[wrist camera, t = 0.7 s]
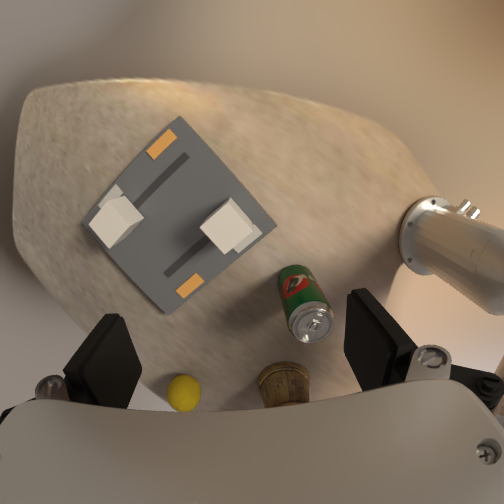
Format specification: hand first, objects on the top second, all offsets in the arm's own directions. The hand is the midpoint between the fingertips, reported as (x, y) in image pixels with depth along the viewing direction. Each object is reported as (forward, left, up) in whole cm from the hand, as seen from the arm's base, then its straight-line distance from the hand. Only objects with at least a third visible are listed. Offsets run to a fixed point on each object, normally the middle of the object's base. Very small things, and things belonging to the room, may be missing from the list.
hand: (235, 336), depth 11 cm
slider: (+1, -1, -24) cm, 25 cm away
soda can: (0, +12, -27) cm, 29 cm away
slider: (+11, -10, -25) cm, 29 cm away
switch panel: (+7, -6, -26) cm, 28 cm away
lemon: (+25, +15, -27) cm, 39 cm away
